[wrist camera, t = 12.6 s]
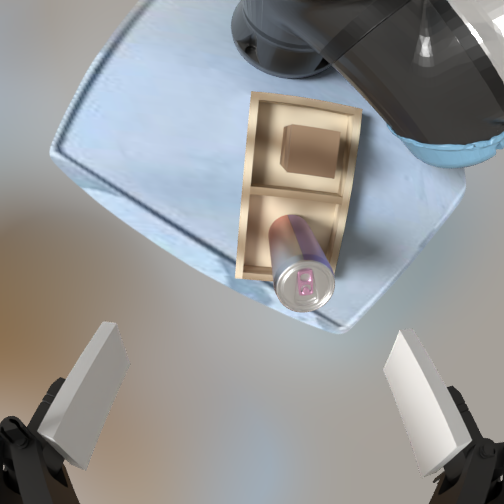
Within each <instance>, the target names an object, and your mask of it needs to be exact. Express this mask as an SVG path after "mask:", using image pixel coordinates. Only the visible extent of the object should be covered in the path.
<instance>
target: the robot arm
mask: <svg viewBox="0 0 504 504" xmlns="http://www.w3.org/2000/svg"><path fill="white" fill-rule="evenodd" d="M231 30H232V36H233V40H234V43H235V45H236V47H237V49H238V51H239V52H240V54H241V55H242V56H243V57H244V59H245V60H246V61H248V62H249V63H250V64H251V65H252V66H254V67H255V68H257V69H259V70H261V71H263V72H265V73H267V74H270V75H273V76H277V77H282V78H304V77H309V76H313V75H316V74H318V73H320V72H322V71H324V70H325V69H327V68H328V67H329V66H332V67H334V68H335V69H336V70H337V71H338V72H339V73H340V74H341V75H342V76H343V77H344V78H345V79H346V80H347V81H348V82H349V83H350V84H351V85H352V86H353V87H354V88H355V89H356V90H357V91H358V92H359V93H360V94H361V95H362V96H363V97H364V98H365V99H366V100H367V101H368V103H369V104H370V105H371V106H372V107H373V108H374V109H375V110H376V111H377V113H378V114H379V115H380V116H381V117H382V118H383V119H384V121H385V122H386V124H387V127H388V128H389V130H390V131H391V132H392V133H393V134H394V135H395V136H397V137H398V138H399V139H400V140H401V141H402V142H403V143H404V144H405V145H406V147H407V148H408V149H409V150H410V151H411V153H412V154H413V155H414V156H415V157H417V158H418V159H420V160H422V161H423V162H424V163H427V164H429V165H431V166H435V167H439V168H463V167H469V166H472V165H476V164H479V163H482V162H484V161H486V160H488V159H490V158H492V157H493V156H494V155H496V149H503V148H504V0H241V1H240V2H239V4H238V5H237V7H236V9H235V11H234V13H233V16H232V21H231ZM129 366H130V361H129V359H128V356H127V353H126V350H125V347H124V344H123V341H122V338H121V335H120V332H119V329H118V326H117V323H112V322H103V323H102V324H101V325H100V327H99V328H98V330H97V331H96V333H95V334H94V336H93V337H92V339H91V340H90V342H89V343H88V345H87V346H86V348H85V350H84V351H83V353H82V354H81V356H80V357H79V359H78V361H77V362H76V364H75V365H74V367H73V369H72V370H71V372H70V374H69V375H68V377H67V378H66V379H63V378H61V377H60V378H59V379H57V381H55V382H54V383H53V384H52V385H51V386H50V388H49V390H48V391H47V394H46V395H45V396H44V398H43V401H42V402H41V403H40V405H39V406H38V408H37V410H36V412H35V414H34V415H33V417H32V419H31V421H30V423H29V424H28V426H27V427H26V426H25V425H24V424H23V423H22V422H21V420H20V419H19V418H17V417H15V416H8V417H6V418H4V419H3V421H2V422H1V423H0V504H80V503H79V501H78V498H77V496H76V494H75V491H74V489H73V486H72V484H71V481H70V478H69V476H68V473H67V470H66V467H65V466H64V464H63V462H64V459H66V460H67V461H68V462H69V463H70V464H71V465H74V466H76V467H78V468H81V469H83V470H86V469H87V467H88V464H89V461H90V458H91V456H92V453H93V451H94V448H95V445H96V443H97V440H98V438H99V435H100V433H101V430H102V428H103V426H104V423H105V420H106V418H107V416H108V414H109V411H110V409H111V406H112V404H113V402H114V399H115V397H116V395H117V393H118V390H119V388H120V386H121V384H122V381H123V379H124V377H125V375H126V373H127V370H128V368H129ZM383 371H384V373H385V376H386V378H387V381H388V383H389V386H390V388H391V391H392V393H393V396H394V399H395V401H396V404H397V407H398V409H399V412H400V415H401V418H402V420H403V423H404V426H405V428H406V432H407V434H408V437H409V440H410V443H411V446H412V449H413V453H414V456H415V458H416V462H417V465H418V469H419V472H420V475H421V478H422V477H425V476H428V475H431V474H433V473H436V472H437V471H438V470H440V469H441V468H442V467H444V470H445V471H444V472H443V473H441V474H440V475H439V476H437V477H436V478H435V479H434V481H433V483H435V482H436V481H437V480H439V479H440V480H439V482H438V483H437V484H438V485H437V487H436V489H435V492H434V494H433V496H432V499H431V500H430V502H429V504H504V442H503V443H494V442H493V441H492V440H490V439H488V438H483V437H482V435H481V433H480V431H479V429H478V427H477V425H476V423H475V421H474V419H473V417H472V415H471V413H470V411H468V407H467V405H466V404H465V401H464V399H463V397H462V395H461V393H460V392H459V391H458V390H457V389H455V388H454V387H453V386H450V387H446V385H445V383H444V382H443V380H442V378H441V376H440V374H439V372H438V371H437V369H436V367H435V366H434V364H433V362H432V360H431V358H430V357H429V355H428V353H427V352H426V350H425V348H424V346H423V345H422V343H421V341H420V340H419V338H418V336H417V335H416V333H415V331H414V330H413V329H404V330H400V331H399V333H398V336H397V339H396V341H395V343H394V346H393V348H392V351H391V353H390V356H389V358H388V360H387V362H386V365H385V367H384V369H383ZM3 465H5V468H4V470H3ZM502 475H503V480H502V481H501V480H500V476H502Z"/></svg>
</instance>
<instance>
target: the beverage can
mask: <svg viewBox="0 0 504 504" xmlns="http://www.w3.org/2000/svg"><path fill="white" fill-rule="evenodd" d="M268 239H269V248H270V257H271V266H272V275H273V284H274V290H275V293H276V295H277V296H278V299H279V300H280V302H281V303H282V304H283V305H284V306H285V307H286V308H288V309H290V310H292V311H295V312H310V311H314V310H316V309H319V308H320V307H322V306H323V305H325V304H326V303H327V302H328V301H329V299H330V298H331V296H332V294H333V292H334V288H335V280H334V273H333V270H332V267H331V266H330V264H329V262H328V260H327V258H326V256H325V254H324V252H323V250H322V249H321V247H320V245H319V243H318V241H317V239H316V237H315V236H314V234H313V232H312V230H311V228H310V227H309V225H308V223H307V222H306V221H305V220H304V219H303V218H301V217H299V216H297V215H284V216H281V217H279V218H278V219H276V220H275V221H274V222H273V223H272V225H271V226H270V229H269V232H268Z"/></svg>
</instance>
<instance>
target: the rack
mask: <svg viewBox="0 0 504 504" xmlns="http://www.w3.org/2000/svg"><path fill="white" fill-rule="evenodd" d="M361 118H362V109H359V108H355V107H351V106H346V105H342V104H337V103H332V102H327V101H321V100H316V99H310V98H303V97H297V96H290V95H282V94H274V93H264V92H253V91H251V100H250V110H249V120H248V131H247V142H246V152H245V163H244V175H243V186H242V198H241V210H240V222H239V234H238V247H237V260H236V273H235V278H239V279H250V280H262V281H273V275H272V266H271V257H270V248H269V239H268V232H269V229H270V226H271V225H272V223H273V222H274V221H275V220H276V219H278V218H279V217H281V216H284V215H297V216H299V217H301V218H303V219H304V220H305V221H306V222H307V223H308V225H309V227H310V228H311V230H312V232H313V234H314V236H315V237H316V239H317V241H318V243H319V245H320V247H321V249H322V250H323V252H324V254H325V256H326V258H327V260H328V262H329V264H330V266H331V267H332V270H333V273H335V269H336V265H337V260H338V256H339V252H340V247H341V242H342V238H343V233H344V228H345V223H346V218H347V213H348V207H349V202H350V196H351V190H352V184H353V178H354V172H355V165H356V158H357V151H358V144H359V136H360V127H361ZM291 124H296V125H303V126H309V127H316V128H322V129H327V130H333V131H338V132H341V133H340V142H339V149H338V157H337V164H336V171H335V178H334V179H332V178H325V177H319V176H311V175H304V174H296V173H288V172H286V171H285V169H284V168H283V167H282V166H281V165H280V156H281V147H282V137H283V128H284V127H285V126H288V125H291Z"/></svg>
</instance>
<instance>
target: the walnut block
mask: <svg viewBox="0 0 504 504" xmlns="http://www.w3.org/2000/svg"><path fill="white" fill-rule="evenodd" d="M340 133H341V132H338V131H333V130H327V129H322V128H316V127H309V126H303V125H296V124H291V125H288V126H285V127H284V128H283V137H282V147H281V156H280V165H281V166H282V167H283V168H284V169H285V171H286V172H288V173H296V174H304V175H311V176H319V177H325V178H332V179H334V178H335V171H336V164H337V157H338V149H339V142H340Z"/></svg>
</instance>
